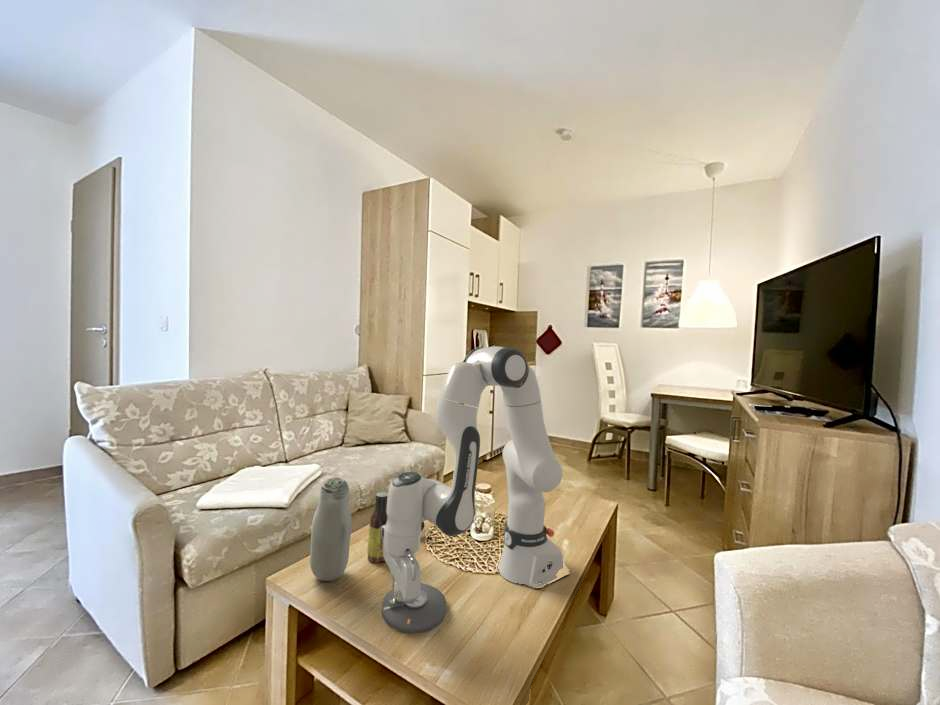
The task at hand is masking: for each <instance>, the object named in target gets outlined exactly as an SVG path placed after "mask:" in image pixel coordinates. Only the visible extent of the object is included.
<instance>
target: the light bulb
mask: <svg viewBox="0 0 940 705" xmlns="http://www.w3.org/2000/svg"><path fill="white" fill-rule="evenodd" d="M398 590H399V588H398V586H397V584H396V582H395V581H394V594H393V599H392V600H389V605H390V608H393V607H397V606H402V605H404V606H405V607H407V608H409V609H420V608H422V607H424V606H425V605H426V602H427V595H426V593H425V592H424V591H422V590H420V595H419V597H418V598H416V599H412V600H407V601H406V600H403V601H398V599H397V591H398Z"/></svg>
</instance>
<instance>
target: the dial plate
mask: <svg viewBox="0 0 940 705" xmlns="http://www.w3.org/2000/svg"><path fill="white" fill-rule="evenodd" d="M420 590H422V591H424V592H425V593H426V595H427V602H426V605H425V606H424V607H422V608H420V609H409V608H407V607H405V606H404V605H402V606H397V607H393V608H390V605H389V600H392V599H393V594H394V590H393V588H392V589H390V590H389V591H388V592H387V593H386V594H385V595H384V597H383V600H382V604H381V605H382V608H381V615H382V619H383V621H384V622H385V623H386V624H387V625H388V626H389V627H390V628H392V629H393V630H395V631H397V632H401V633H404V634H423V633H425V632H428V631H429V632H430V631H431V630H434V629H435V628H437V627H438V626H440V624H441V623H442V621H444V619H445V616H446V609H447V599H446V596H445V595H444V594H443V592H441V590H440V589H438V588H436V586H433V585H430V584H427V583H421V585H420Z"/></svg>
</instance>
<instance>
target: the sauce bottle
mask: <svg viewBox="0 0 940 705" xmlns="http://www.w3.org/2000/svg"><path fill="white" fill-rule="evenodd" d="M387 498H388V492H385V491H380V492H379V491H378V492H377V493H375V504H374V505H375V506H374V510H373V511H372V513H371V515H370V522H369V528H368V529H369V530H368V540H367V551H366V552H367V560H368V561H369V562H371V563H376V564H377V563H382V562H385V559H384V557H383V547H382V542H383V536H382V534H381V527H382V526H383V525H386V523H387V513H386V509H387Z"/></svg>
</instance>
